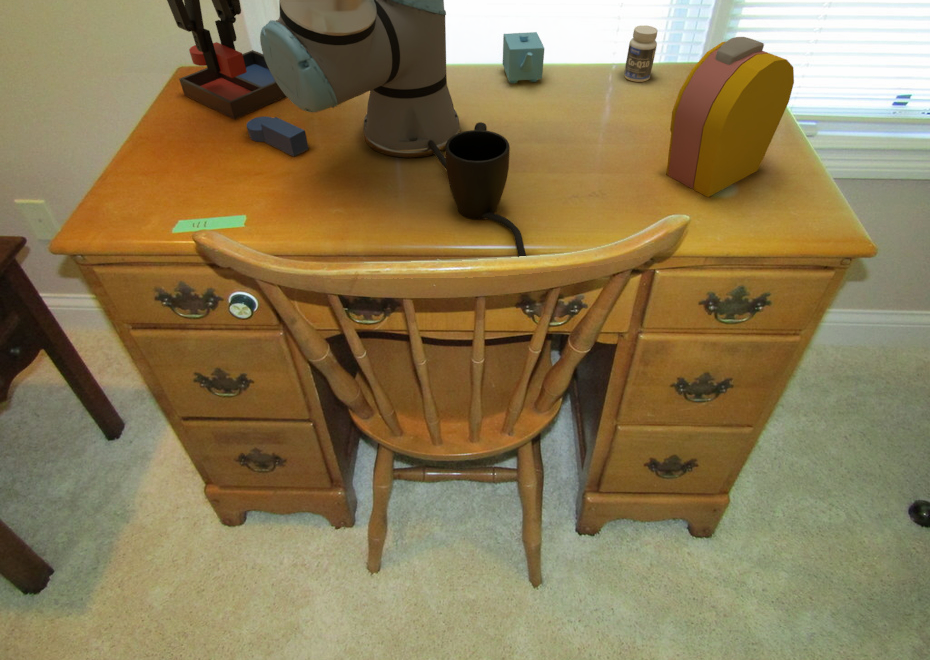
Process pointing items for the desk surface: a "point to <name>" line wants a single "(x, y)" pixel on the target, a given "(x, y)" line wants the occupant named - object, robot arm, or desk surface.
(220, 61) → the red rounded-end block
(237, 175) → the desk surface
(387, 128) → the robot arm
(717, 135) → the alarm clock
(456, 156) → the mug
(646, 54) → the pill bottle
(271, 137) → the blue round-headed block
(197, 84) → the organizer
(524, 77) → the teapot
